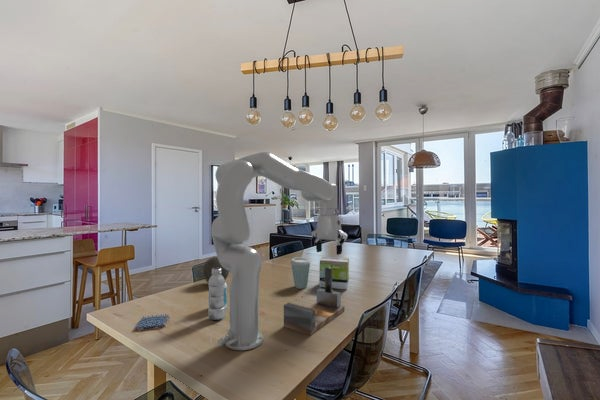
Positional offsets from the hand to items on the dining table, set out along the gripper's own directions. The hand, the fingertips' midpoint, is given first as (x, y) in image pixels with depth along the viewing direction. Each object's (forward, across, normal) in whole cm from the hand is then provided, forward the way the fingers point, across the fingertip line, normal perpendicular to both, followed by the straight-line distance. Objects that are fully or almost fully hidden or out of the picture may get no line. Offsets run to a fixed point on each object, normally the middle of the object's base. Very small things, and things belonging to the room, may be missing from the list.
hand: (328, 252), depth 121 cm
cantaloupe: (+24, +69, +5) cm, 73 cm away
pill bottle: (+24, +40, +27) cm, 54 cm away
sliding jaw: (+22, 0, +1) cm, 22 cm away
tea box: (+25, +14, -30) cm, 42 cm away
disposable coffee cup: (+25, +28, -18) cm, 42 cm away
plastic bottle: (+24, +32, +34) cm, 52 cm away
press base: (+24, 0, +11) cm, 26 cm away
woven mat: (+24, +48, +51) cm, 74 cm away
